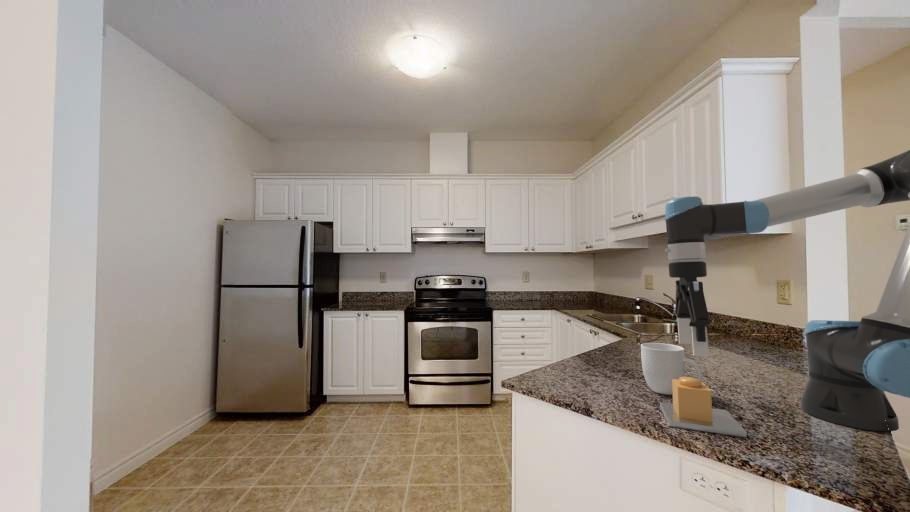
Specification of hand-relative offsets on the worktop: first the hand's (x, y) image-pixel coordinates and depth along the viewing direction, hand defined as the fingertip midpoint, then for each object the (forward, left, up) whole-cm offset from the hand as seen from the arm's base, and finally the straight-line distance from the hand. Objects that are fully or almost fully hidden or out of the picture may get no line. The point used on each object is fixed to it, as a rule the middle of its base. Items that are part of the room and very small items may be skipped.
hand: (692, 349), depth 80 cm
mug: (+2, -19, -17) cm, 26 cm away
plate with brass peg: (-1, 0, -17) cm, 17 cm away
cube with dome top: (+1, 0, -15) cm, 15 cm away
